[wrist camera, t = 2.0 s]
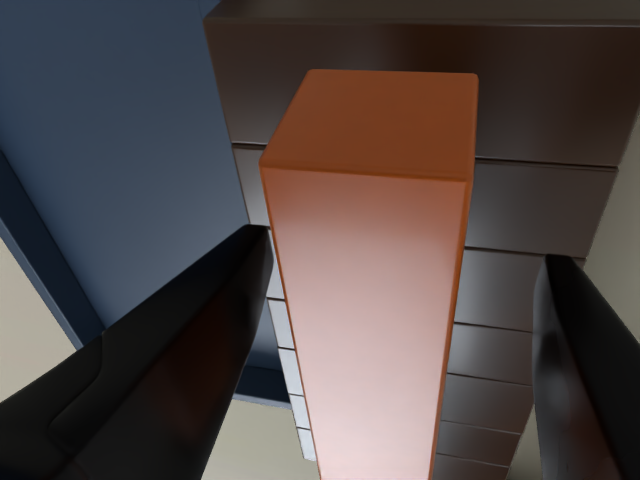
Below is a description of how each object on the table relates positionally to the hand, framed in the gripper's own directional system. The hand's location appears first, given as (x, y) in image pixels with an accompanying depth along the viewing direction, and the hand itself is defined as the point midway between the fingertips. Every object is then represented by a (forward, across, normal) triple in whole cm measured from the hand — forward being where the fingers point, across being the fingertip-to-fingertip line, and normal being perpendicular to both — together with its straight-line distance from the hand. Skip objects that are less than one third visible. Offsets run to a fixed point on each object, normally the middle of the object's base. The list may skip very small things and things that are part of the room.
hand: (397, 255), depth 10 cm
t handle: (+6, 0, 0) cm, 6 cm away
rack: (+6, 0, +5) cm, 8 cm away
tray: (+6, +10, +5) cm, 12 cm away
